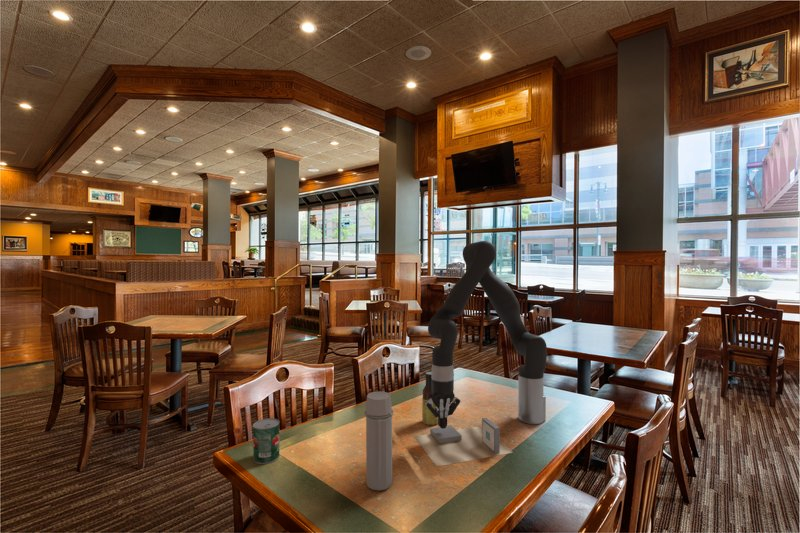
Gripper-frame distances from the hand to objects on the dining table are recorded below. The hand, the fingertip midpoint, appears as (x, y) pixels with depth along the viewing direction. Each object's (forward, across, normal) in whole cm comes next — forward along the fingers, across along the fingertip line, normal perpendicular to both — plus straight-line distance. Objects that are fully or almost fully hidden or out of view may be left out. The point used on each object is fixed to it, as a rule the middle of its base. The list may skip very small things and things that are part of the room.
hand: (442, 427), depth 131 cm
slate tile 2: (+4, -12, +11) cm, 17 cm away
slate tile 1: (+2, -5, 0) cm, 6 cm away
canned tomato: (+5, +57, -8) cm, 58 cm away
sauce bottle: (+5, -1, -13) cm, 14 cm away
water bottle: (+5, +27, +18) cm, 33 cm away
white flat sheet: (+5, -4, +6) cm, 9 cm away
